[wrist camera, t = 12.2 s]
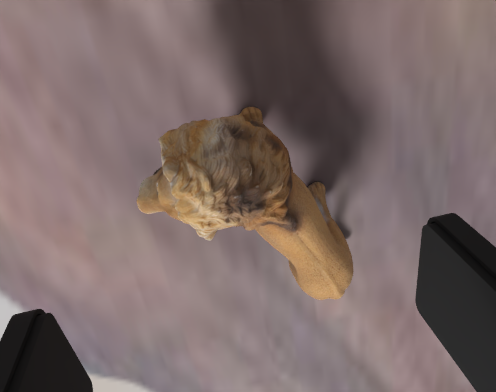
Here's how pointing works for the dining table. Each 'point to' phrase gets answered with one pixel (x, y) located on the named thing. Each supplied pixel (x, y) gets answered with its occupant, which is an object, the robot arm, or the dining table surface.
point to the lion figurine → (249, 196)
